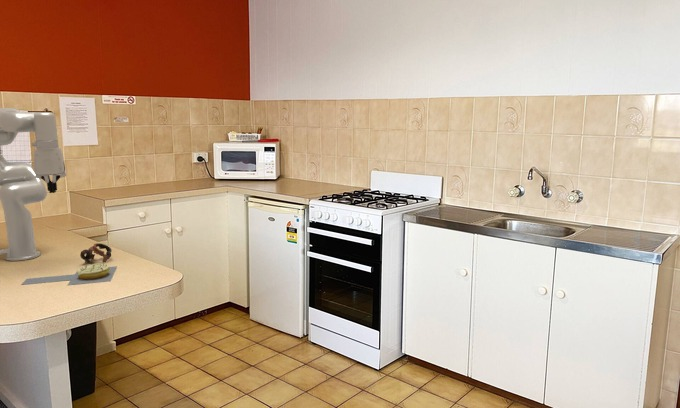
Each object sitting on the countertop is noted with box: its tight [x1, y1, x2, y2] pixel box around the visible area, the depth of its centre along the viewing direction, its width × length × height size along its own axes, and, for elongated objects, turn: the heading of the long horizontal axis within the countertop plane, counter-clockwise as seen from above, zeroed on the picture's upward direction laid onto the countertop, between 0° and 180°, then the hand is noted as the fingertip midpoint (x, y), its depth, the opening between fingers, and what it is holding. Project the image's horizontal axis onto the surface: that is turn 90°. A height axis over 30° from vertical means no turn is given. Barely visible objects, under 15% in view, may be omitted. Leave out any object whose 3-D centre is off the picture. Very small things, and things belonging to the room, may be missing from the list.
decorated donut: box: [76, 262, 110, 279], centre depth 194 cm, size 10×11×4 cm
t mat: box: [21, 265, 118, 286], centre depth 194 cm, size 30×19×1 cm, turn 106°
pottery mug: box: [80, 242, 113, 263], centre depth 213 cm, size 12×10×8 cm
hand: (52, 192), depth 206 cm, fingers closed
